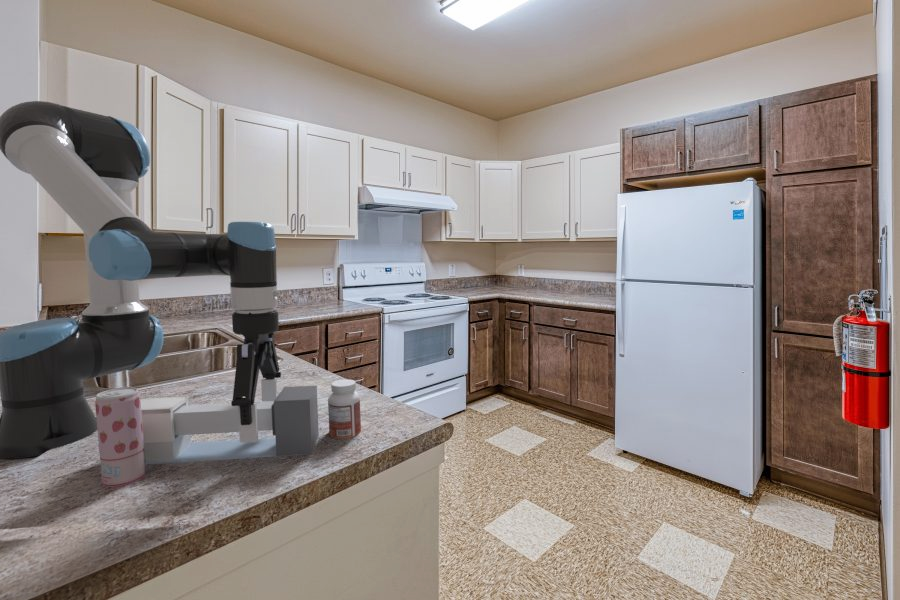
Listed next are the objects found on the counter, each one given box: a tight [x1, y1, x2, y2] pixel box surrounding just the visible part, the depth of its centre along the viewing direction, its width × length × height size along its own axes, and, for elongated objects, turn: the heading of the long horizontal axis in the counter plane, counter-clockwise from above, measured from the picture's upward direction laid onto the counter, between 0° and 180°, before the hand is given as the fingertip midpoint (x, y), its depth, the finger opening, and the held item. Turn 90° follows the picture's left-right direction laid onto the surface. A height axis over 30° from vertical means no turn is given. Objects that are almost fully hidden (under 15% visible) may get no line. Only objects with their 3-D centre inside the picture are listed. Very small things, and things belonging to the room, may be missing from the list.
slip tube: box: [173, 401, 275, 436], centre depth 79 cm, size 24×5×5 cm, turn 98°
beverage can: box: [94, 386, 147, 488], centre depth 69 cm, size 6×6×15 cm
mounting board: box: [146, 435, 319, 466], centre depth 80 cm, size 32×8×1 cm, turn 98°
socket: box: [274, 385, 320, 457], centre depth 81 cm, size 6×8×10 cm
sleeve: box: [140, 395, 192, 463], centre depth 77 cm, size 9×7×9 cm
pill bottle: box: [327, 379, 362, 439], centre depth 87 cm, size 6×6×11 cm
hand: (260, 425), depth 80 cm, fingers open, 13 cm apart
